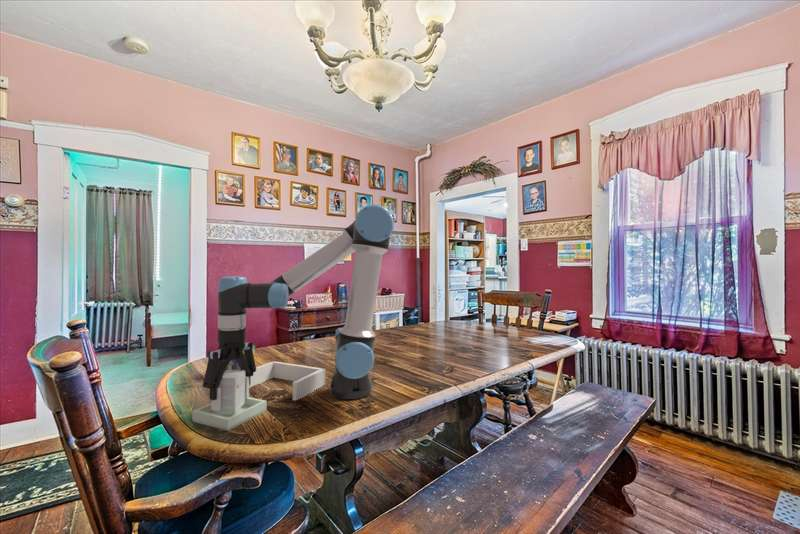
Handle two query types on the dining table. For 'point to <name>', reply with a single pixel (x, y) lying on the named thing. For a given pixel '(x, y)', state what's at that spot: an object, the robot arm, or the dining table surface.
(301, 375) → the bay
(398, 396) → the dining table surface
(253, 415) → the tray
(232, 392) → the small box
